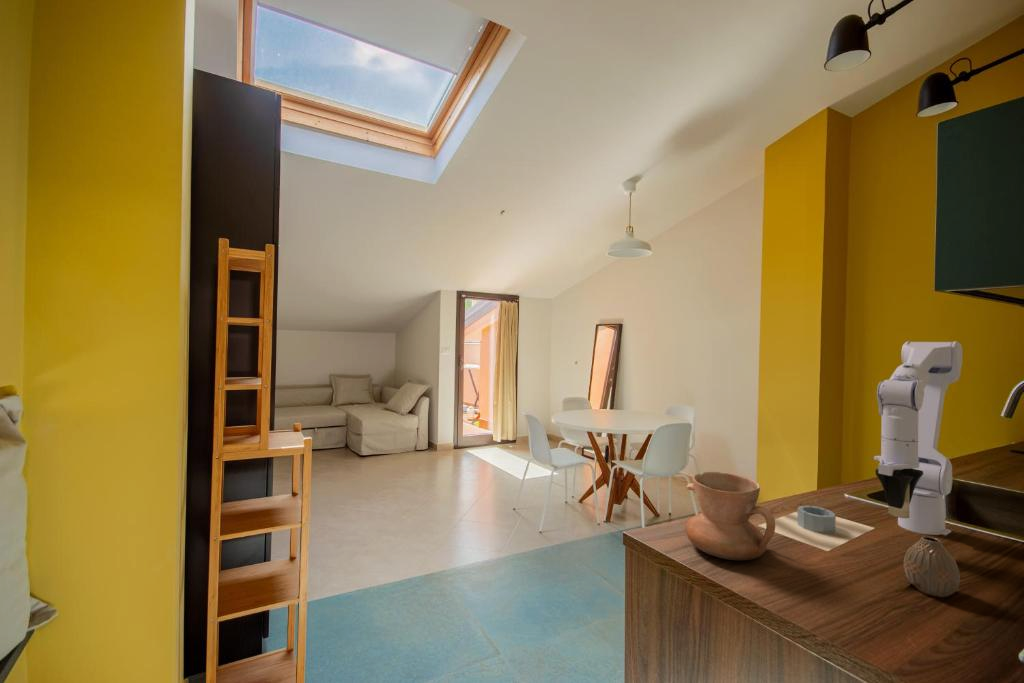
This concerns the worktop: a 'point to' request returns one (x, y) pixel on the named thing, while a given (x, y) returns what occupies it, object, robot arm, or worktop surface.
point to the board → (825, 541)
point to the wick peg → (905, 509)
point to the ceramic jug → (728, 517)
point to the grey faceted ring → (816, 519)
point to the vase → (931, 568)
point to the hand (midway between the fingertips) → (898, 505)
